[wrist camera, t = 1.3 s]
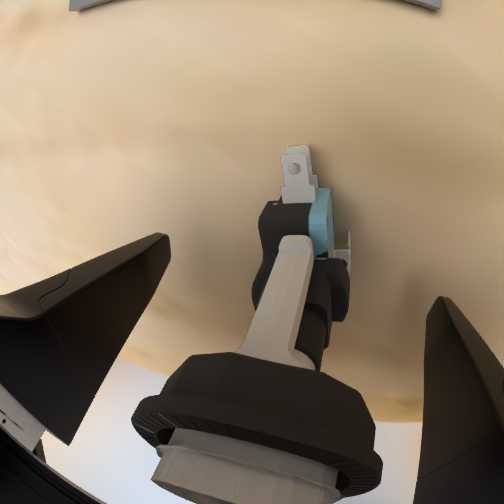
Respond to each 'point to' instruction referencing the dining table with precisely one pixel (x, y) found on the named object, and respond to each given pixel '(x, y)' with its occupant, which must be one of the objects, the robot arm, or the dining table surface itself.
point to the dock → (77, 3)
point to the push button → (272, 378)
